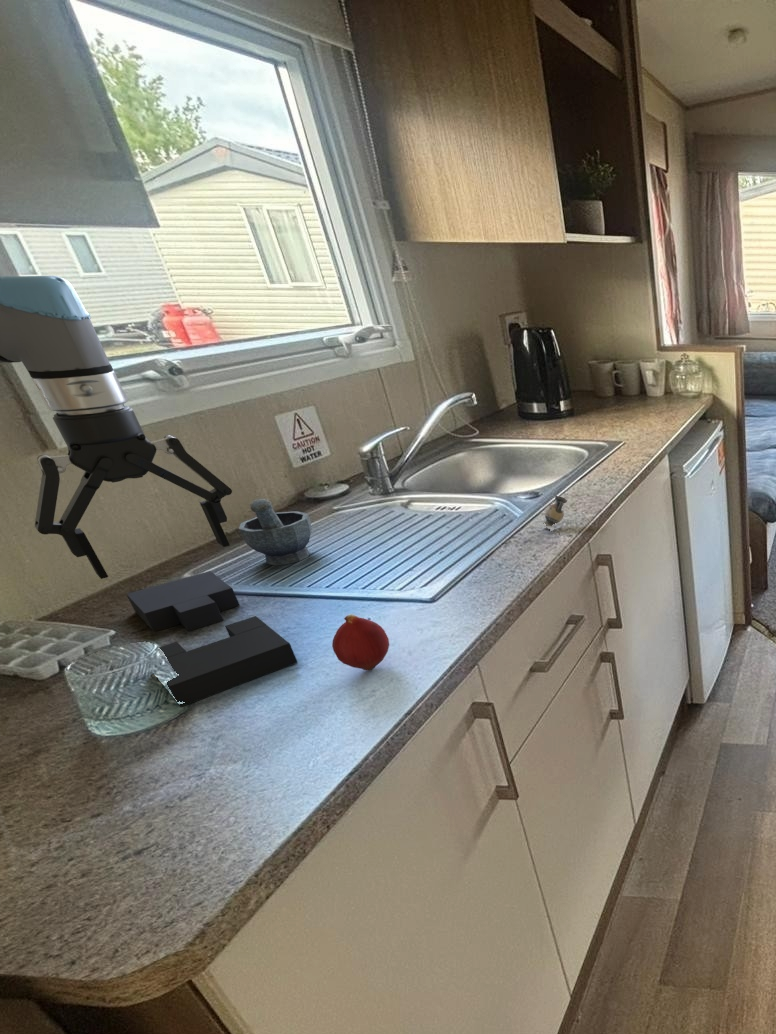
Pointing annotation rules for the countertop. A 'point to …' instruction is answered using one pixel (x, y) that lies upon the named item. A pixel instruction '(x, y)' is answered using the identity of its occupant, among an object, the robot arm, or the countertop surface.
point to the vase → (554, 511)
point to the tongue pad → (184, 602)
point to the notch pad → (227, 660)
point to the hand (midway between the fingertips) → (166, 559)
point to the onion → (360, 643)
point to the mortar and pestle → (277, 533)
